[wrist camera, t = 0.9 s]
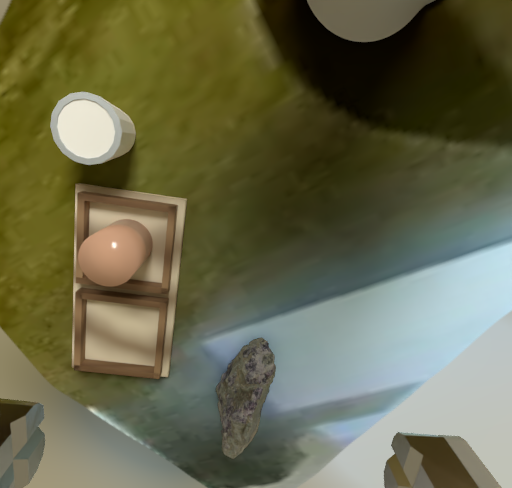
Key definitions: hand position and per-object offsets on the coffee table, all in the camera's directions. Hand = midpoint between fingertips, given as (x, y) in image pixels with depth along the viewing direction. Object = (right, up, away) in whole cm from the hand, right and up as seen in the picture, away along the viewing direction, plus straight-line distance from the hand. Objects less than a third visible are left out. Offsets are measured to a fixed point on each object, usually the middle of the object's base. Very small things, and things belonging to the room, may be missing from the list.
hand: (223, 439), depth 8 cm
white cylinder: (-16, +18, +33) cm, 41 cm away
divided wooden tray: (-16, -1, +38) cm, 41 cm away
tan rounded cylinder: (-15, +5, +35) cm, 39 cm away
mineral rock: (0, -15, +43) cm, 45 cm away
